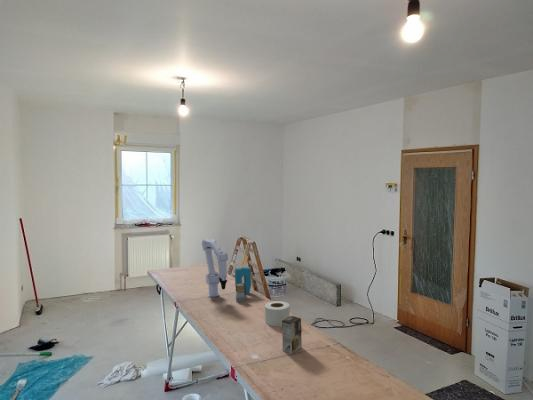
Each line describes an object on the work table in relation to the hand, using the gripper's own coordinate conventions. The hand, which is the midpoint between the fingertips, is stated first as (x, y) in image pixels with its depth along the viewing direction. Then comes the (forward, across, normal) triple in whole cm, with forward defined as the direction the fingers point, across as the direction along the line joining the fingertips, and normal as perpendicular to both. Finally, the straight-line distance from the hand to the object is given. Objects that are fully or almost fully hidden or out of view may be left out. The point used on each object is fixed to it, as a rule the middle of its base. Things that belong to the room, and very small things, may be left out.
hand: (223, 287), depth 284 cm
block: (+11, -17, +17) cm, 26 cm away
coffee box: (+10, +88, +30) cm, 94 cm away
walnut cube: (+3, +1, +12) cm, 13 cm away
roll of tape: (+10, +48, +31) cm, 58 cm away
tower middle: (+7, 0, +12) cm, 14 cm away
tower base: (+10, 0, +12) cm, 16 cm away
